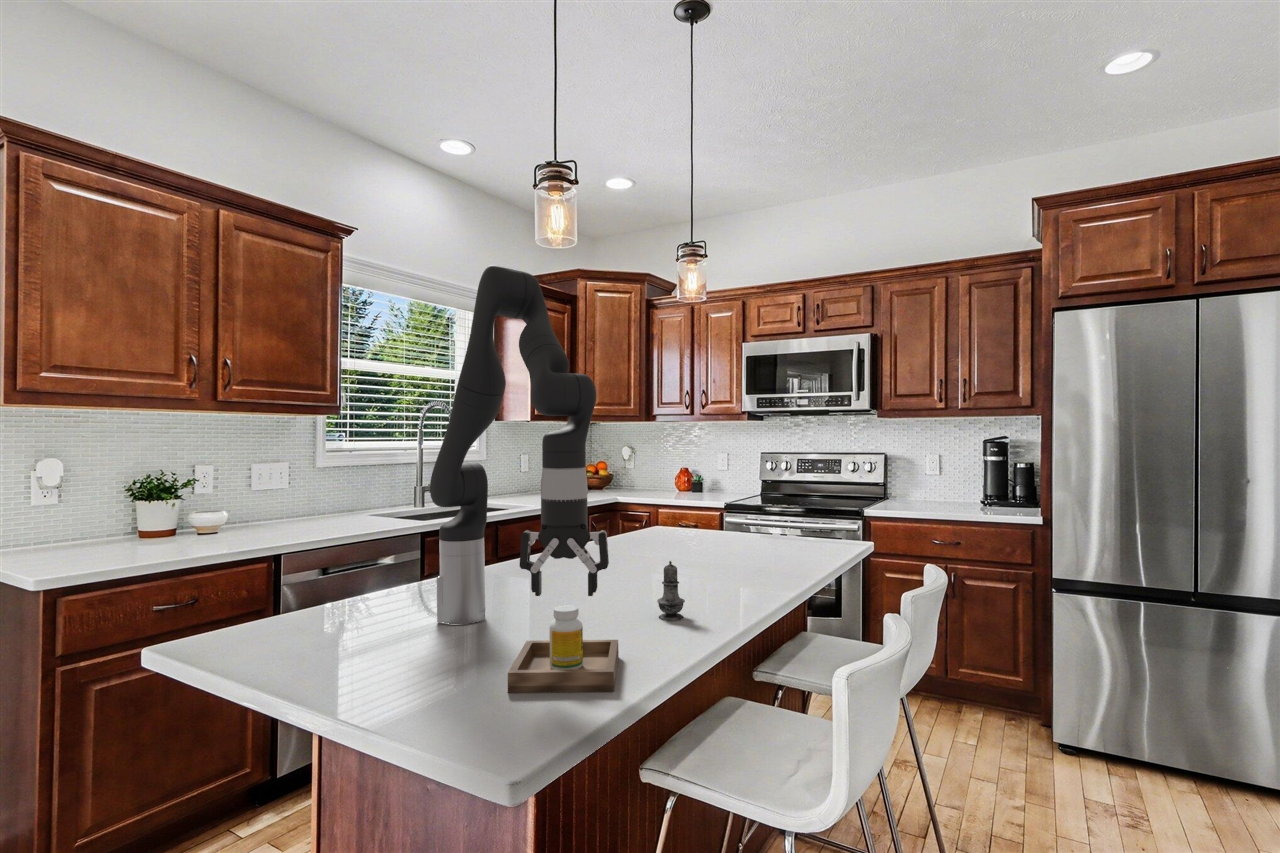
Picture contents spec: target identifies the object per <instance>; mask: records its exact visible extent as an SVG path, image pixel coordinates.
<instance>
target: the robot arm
mask: <svg viewBox="0 0 1280 853" xmlns="http://www.w3.org/2000/svg"><path fill="white" fill-rule="evenodd" d="M478 283H479V284H478V287H477V291H476V292H477V293H476V297H475V302H474V308H473V315H472V316H473V317H472V321H471V328H470V334H469V338H468V342H467V347H466V351H465V352H466V353H465V355H464V359H463V362H462V367H461V371H460V374H459V378H458V380H457V381H458V382H457V384H456V388H455V389H456V390H455V393H454V397H453V398H454V399H453V401H452V407H451V412H450V416H449V420H448V423H447V426H446V427H447V428H446V431H445V434H444V437H443V441H442V443H441V447H440V449H439V451H438V455H437V457H436V460H435V463H434V466H433V469H432V472H431V478H430V483H429V494H430V498H431V500H432V502H433V504H435V506H437V507H439V508H454V507H455V508H456V507H460V509H459V511H458V513H457V514H456V515H455V516H454V517H453V518H451V519H450V520H448V521H446V522H445V523H443V524H442V525H441V526H440V527H439V529H438V530H439V531H438V532H439V533H438V536H439V537H438V538H439V544H438V545H439V546H438V547H439V548H438V549H439V550H438V551H439V575H438V576H437V577H436V623H437V622H444V623H449V624H466V625H470V624H469V623H473V624H476V623H475V622H477V623H480V622H482V621H484V620H485V619H486V576H485V575H486V572H485V571H486V570H485V567H486V565H485V563H486V562H485V559H486V558H485V529H486V526H487V521H488V520H487V519H488V497H489V495H488V494H489V493H488V492H489V484H488V482H489V481H488V476H487V472H486V469H485V468H484V466H483V465H482V464H481V463H479V462H475V461H466V462H465V461H464V460H465V458H466V456H467V453H468V451H469V450H470V448H471V447H472V446H473V445H474V443H475V442H476V441H477V440H478V439H479V437H481V435H482V434H483V433H484V432H486V429H488V428H489V427H490V426H491V425H492V423H493V422H494V421H495V419H496V418H497V416H498V414H499V412H500V409H501V404H502V401H503V398H504V394H505V390H506V386H507V385H506V383H507V380H506V376H505V371H504V368H503V366H502V363H501V360H500V358H499V355H498V354H499V353H498V352H497V349H496V345H495V340H494V326H495V320H496V317H497V316H498V317H503V318H507V319H515V320H522V321H523V322H524V324H525V326H524V327H523V329H522V331H521V332H520V335H519V338H518V349H519V354H520V355H521V358H522V361H523V362H524V366H525V367H526V370H527V372H528V374H529V375H528V376H529V381H530V401H531V404H532V406H533V408H534V409H535V410H536V411H537V412H538V413H539V414H540V415H542V416H546V417H568V419H567V423H566V424H565V425H564V427H563V428H561V429H557V430H552V431H549V432H546V434H544V435H543V437H542V445H541V446H542V447H541V448H542V449H541V450H542V453H541V455H542V456H541V457H542V460H541V461H542V463H541V464H542V469H541V480H540V529H539V531H538V532H537V531H531V530H529V529H526V530H525V531H523V532H522V533H521V535H520V553H519V568H520V569H521V570H526V571H529V573H530V575H531V576H530V577H531V578H530V579H531V580H530V581H531V583H530V585H531V586H530V590H531V592H532V593H535V594H534V596H535V597H540V596H541V595H542V589H543V588H542V584H543V583H542V579H543V578H542V573H543V572H542V570H541V568H542V567H543V566H544V564H545V562H547V560H548V558H551V557H552V558H553V559H554V560H555V559H556V560H558V559H563V558H565V559H569V560H572V559H575V558H577V557H578V559H579V561H581V562H580V563H582V564H583V565H584V566H585V567H586V568H587V569H588V570H587V571H588V573H587V596H588V597H593V596H594V593H595V594H596V592H597V590H598V572H599V571H602V570H607V569H608V566H609V565H610V564H609V562H610V561H609V549H608V547H609V546H608V534H607V531H606V530H605V529H601V530H600V531H590V530H589V527H588V494H589V488H588V478H587V471H586V470H587V468H586V467H587V466H586V464H587V462H586V456H587V455H586V454H587V452H586V449H587V448H586V445H587V444H586V443H587V440H588V439H587V438H588V432H589V428H590V425H591V420H592V416H593V413H594V411H595V406H596V402H597V389H596V386H595V385H596V384H594V381H593V379H592V378H591V377H590V376H589V375H587V374H585V373H577V372H576V373H574V372H573V373H572V372H569V371H570V361H569V359H568V356H567V353H566V352H565V351H564V348H563V347H562V345H561V343H560V341H559V339H558V337H557V336H556V333H555V332H554V330H553V326H552V323H551V320H550V319H551V318H550V316H549V311H548V308H547V303H546V301H545V297H544V294H543V291H542V288H541V285H540V283H539V281H538V279H537V278H536V277H535V275H533V274H531V273H529V272H526V271H522V270H517V269H514V268H510V267H505V266H500V265H496V264H491V265H488V266H486V267H485V269H484V270H483V272H482V274H481V277H480V280H479V282H478ZM536 540H537V541H539V543H540V544H541V545H542V547H543V548H544V549H543V551H542V553H541V554H540V555H539V556H538V558H537V559H536V560H535V561H531V559H530V558H531V546H533V545H534V544H535V542H536ZM590 540H592V541H593V543H594V544H595V545H596V546H598V548H599V549H598V550H599V552H598V553H599V561H597V562H596V561H595V560H594V558H593V557H592V555H591V554H590V552H589V551H588V549H587V547H586V546H587V544H588V543H589V542H590ZM483 619H484V620H483ZM481 620H482V621H481ZM479 621H480V622H479Z"/></svg>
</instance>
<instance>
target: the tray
mask: <svg viewBox="0 0 1280 853" xmlns="http://www.w3.org/2000/svg"><path fill="white" fill-rule="evenodd" d="M618 663H619V639H583V665H582V667H581V668H580V669H565V670H553V669H551V667H550V639H548V640H545V639H544V640H526V641H525V643H524V644H523V646H522V648H521V649H520V651H519V653H518V654H517V656H516V658H515V660H514V661H513V663H512V665H511V666H510V668H509V670H508V671H507V693H508V694H516V693H517V694H518V693H519V694H523V693H530V694H531V693H532V694H533V693H535V694H536V693H537V694H538V693H605V692H606V693H607V692H609V693H610V692H611V693H614V691H615V684H616V678H617V671H618Z"/></svg>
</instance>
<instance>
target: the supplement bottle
mask: <svg viewBox="0 0 1280 853" xmlns="http://www.w3.org/2000/svg"><path fill="white" fill-rule="evenodd" d="M579 615H580V614H579V607H578V606H577V605H569V604H566V605H565V604H563V605H559V606H555V607H553V618H554V619H553V620H552V621H551V622H550V624H549V640H550V667H551V669H553V670H565V669H580V668H581V667H582V665H583V640H584V639H583V638H584V636H583V635H584V634H583V633H584V632H583V631H584V630H583V629H584V628H583V623H582V621H581V620H580V619H579V618H578V616H579Z"/></svg>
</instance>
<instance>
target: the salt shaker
mask: <svg viewBox="0 0 1280 853" xmlns="http://www.w3.org/2000/svg"><path fill="white" fill-rule="evenodd" d="M661 583H662V584H663V594H662V596H661V597H660V598H658V599H657V601H656V602H657V604H658V607H659V610H660V611H661V612H662V613H661V614H659V616H658V619H659V620H660V619H661V621H664V620H667V621H666V622H676V621H675V620H678V621H681V619H682V620H684V618H685V617H684V615H683V614H681V613H680V612H681V611H682V610H683V608H684V603H685V602H686V601H685V599H684V598H681V597H680V594H679V584H680V581H678V567H677V566H676V565H673V562H672V561H671V560H669V562H668V564H667V565H665V566H664V567H663V581H662V582H661Z"/></svg>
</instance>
